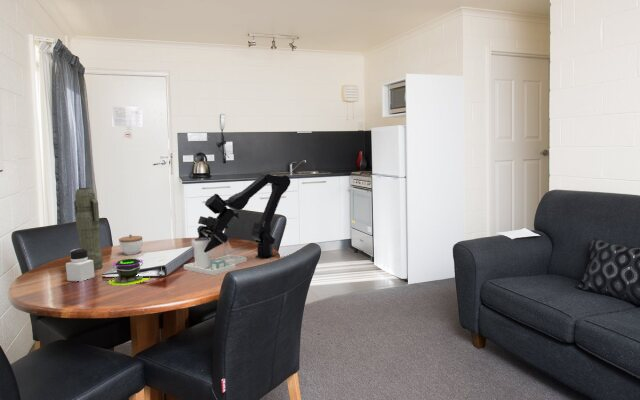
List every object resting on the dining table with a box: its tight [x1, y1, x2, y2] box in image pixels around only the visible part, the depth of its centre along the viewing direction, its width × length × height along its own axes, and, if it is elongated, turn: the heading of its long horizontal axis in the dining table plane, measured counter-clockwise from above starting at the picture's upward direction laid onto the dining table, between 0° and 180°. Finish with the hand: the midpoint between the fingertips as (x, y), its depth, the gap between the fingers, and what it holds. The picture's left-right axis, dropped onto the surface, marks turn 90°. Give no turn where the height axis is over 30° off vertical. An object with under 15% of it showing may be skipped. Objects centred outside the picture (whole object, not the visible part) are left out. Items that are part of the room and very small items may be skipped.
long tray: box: [183, 259, 237, 276], centre depth 195 cm, size 12×18×2 cm
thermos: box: [73, 187, 104, 271], centre depth 202 cm, size 9×12×35 cm
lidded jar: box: [118, 234, 143, 256], centre depth 231 cm, size 11×11×9 cm
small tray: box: [212, 254, 248, 265], centre depth 205 cm, size 10×10×2 cm
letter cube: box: [211, 259, 225, 270], centre depth 191 cm, size 4×4×4 cm
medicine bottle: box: [65, 248, 96, 283], centre depth 187 cm, size 7×7×12 cm
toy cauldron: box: [107, 251, 150, 286], centre depth 183 cm, size 15×15×11 cm
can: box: [193, 238, 212, 269], centre depth 197 cm, size 6×6×12 cm
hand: (199, 250), depth 195 cm, fingers open, 9 cm apart
